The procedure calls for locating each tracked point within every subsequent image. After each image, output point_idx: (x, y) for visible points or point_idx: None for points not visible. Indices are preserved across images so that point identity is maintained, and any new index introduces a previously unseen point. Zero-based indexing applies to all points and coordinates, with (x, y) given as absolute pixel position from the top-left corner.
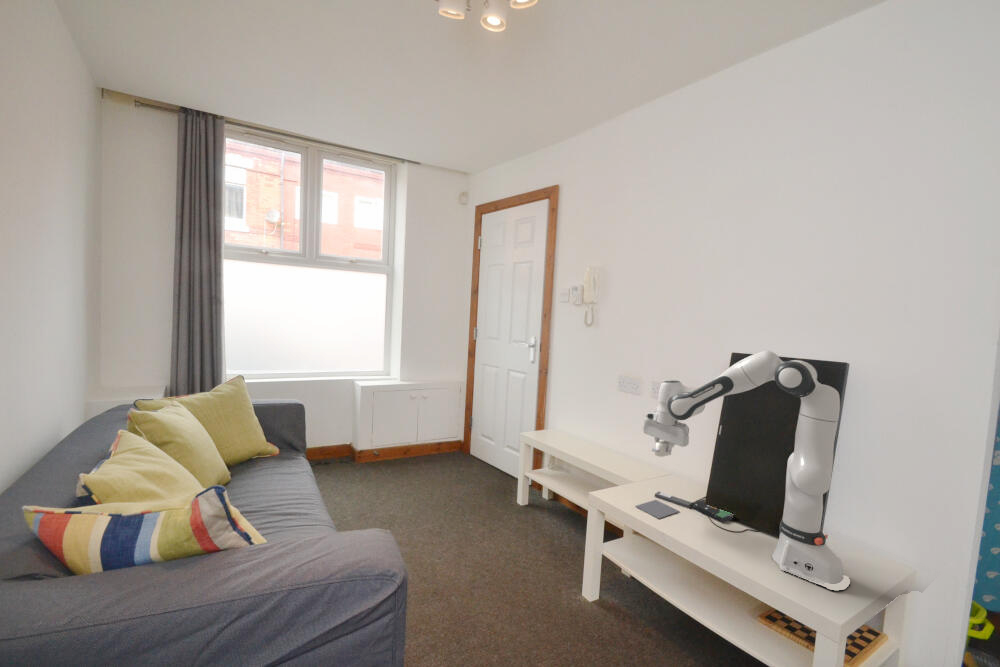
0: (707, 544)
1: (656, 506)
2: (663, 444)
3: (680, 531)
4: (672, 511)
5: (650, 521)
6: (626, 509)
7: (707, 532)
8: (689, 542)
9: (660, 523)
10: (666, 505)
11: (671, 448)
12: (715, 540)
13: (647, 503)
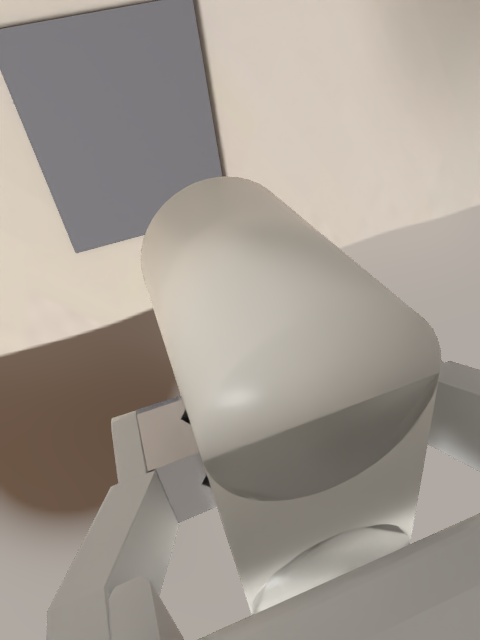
0: (454, 148)
1: (99, 120)
2: (391, 552)
3: (343, 186)
4: (183, 58)
5: None
6: (98, 309)
7: (410, 45)
8: (408, 213)
9: None
10: (94, 24)
11: (441, 369)
12: (462, 76)
13: (48, 153)
